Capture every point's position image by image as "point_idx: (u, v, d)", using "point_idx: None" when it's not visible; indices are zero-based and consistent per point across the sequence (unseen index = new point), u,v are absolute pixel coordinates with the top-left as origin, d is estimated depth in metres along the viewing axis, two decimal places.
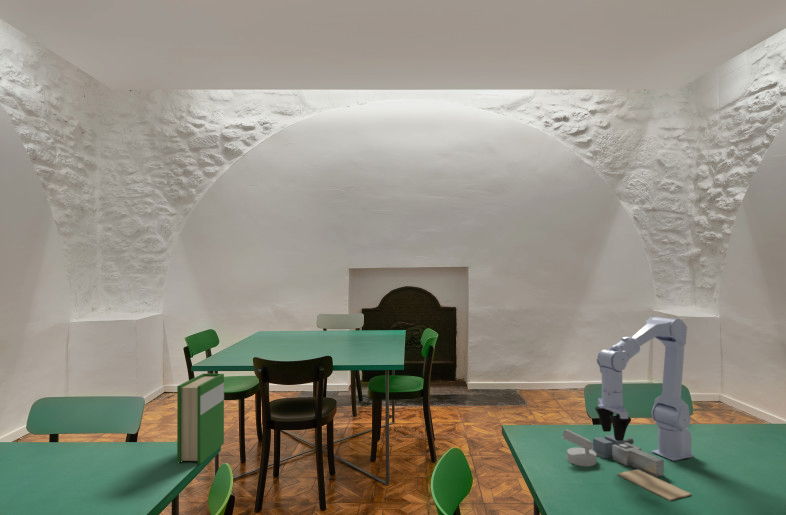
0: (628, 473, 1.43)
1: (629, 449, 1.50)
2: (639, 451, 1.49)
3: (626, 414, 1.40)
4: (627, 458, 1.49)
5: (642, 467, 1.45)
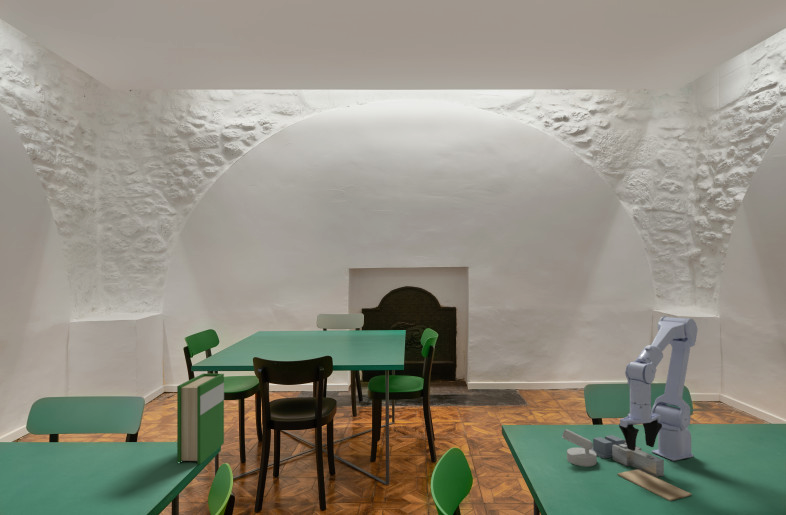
0: (628, 473, 1.43)
1: (629, 449, 1.50)
2: (639, 451, 1.49)
3: (623, 422, 1.45)
4: (627, 458, 1.49)
5: (642, 467, 1.45)
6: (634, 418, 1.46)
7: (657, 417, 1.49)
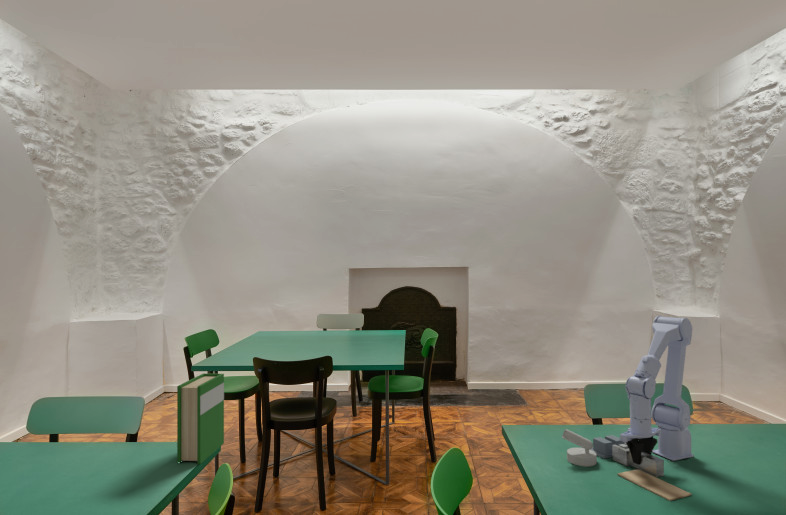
0: (628, 473, 1.43)
1: None
2: None
3: (623, 437, 1.45)
4: (627, 458, 1.49)
5: (642, 467, 1.45)
6: (634, 433, 1.46)
7: (657, 431, 1.49)
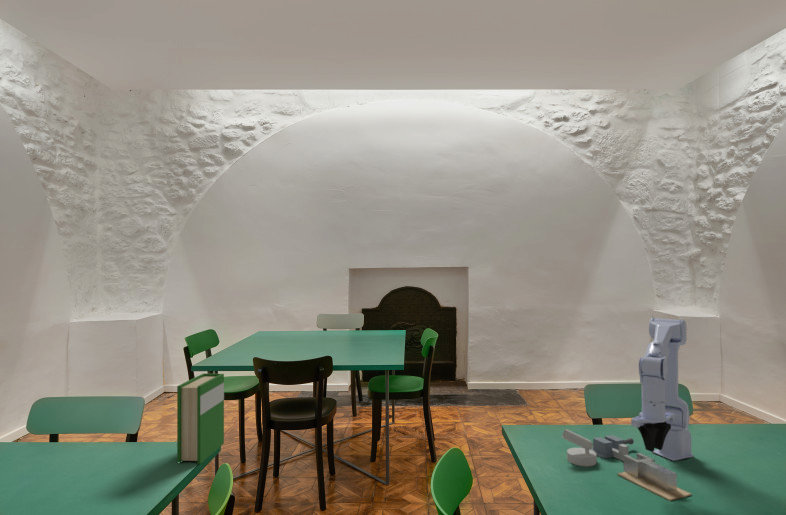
0: (628, 473, 1.43)
1: (641, 460, 1.41)
2: (651, 463, 1.39)
3: (635, 422, 1.33)
4: (639, 470, 1.40)
5: (654, 480, 1.36)
6: (647, 417, 1.35)
7: (671, 416, 1.37)
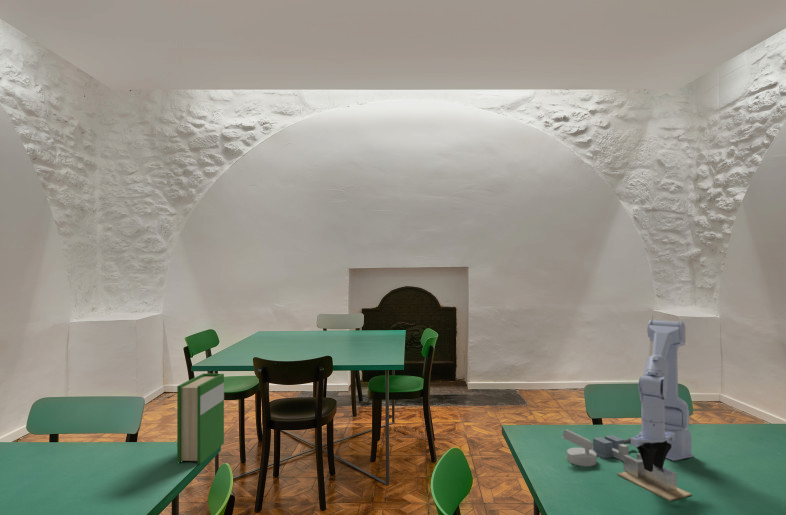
0: (628, 473, 1.43)
1: (641, 460, 1.41)
2: None
3: (635, 441, 1.33)
4: (639, 470, 1.40)
5: (654, 480, 1.36)
6: (646, 437, 1.35)
7: (671, 436, 1.37)
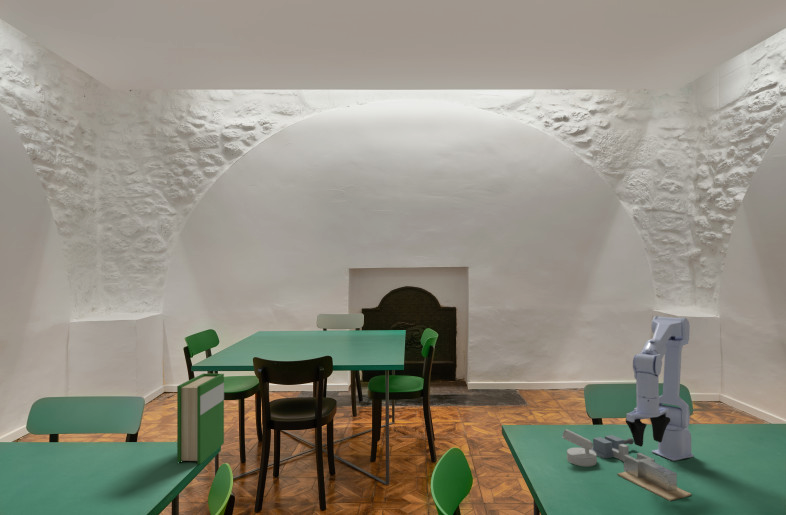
0: (628, 473, 1.43)
1: (641, 460, 1.41)
2: (651, 463, 1.39)
3: (630, 417, 1.38)
4: (639, 469, 1.40)
5: (654, 479, 1.36)
6: (641, 412, 1.40)
7: (665, 411, 1.42)
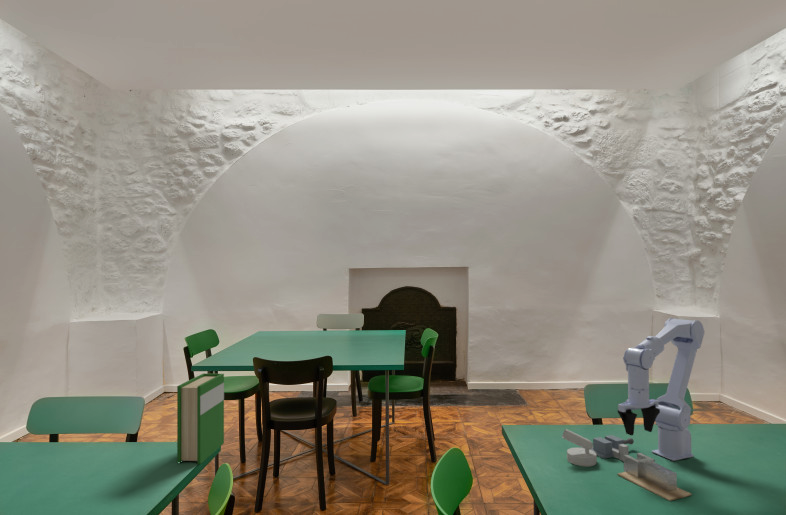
0: (628, 473, 1.43)
1: (641, 460, 1.41)
2: (651, 463, 1.39)
3: (622, 407, 1.46)
4: (639, 469, 1.40)
5: (654, 479, 1.36)
6: (632, 403, 1.48)
7: (655, 402, 1.51)
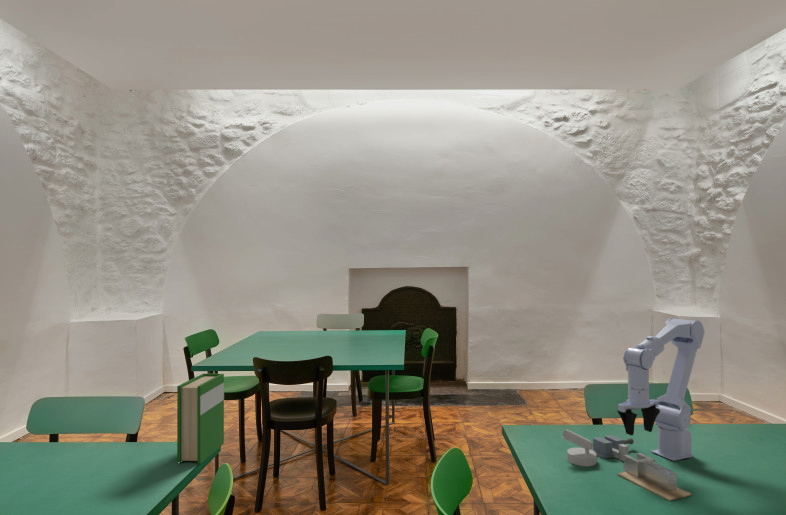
0: (628, 473, 1.43)
1: (641, 460, 1.41)
2: (651, 463, 1.39)
3: (622, 407, 1.46)
4: (639, 469, 1.40)
5: (654, 479, 1.36)
6: (632, 403, 1.48)
7: (655, 402, 1.51)
